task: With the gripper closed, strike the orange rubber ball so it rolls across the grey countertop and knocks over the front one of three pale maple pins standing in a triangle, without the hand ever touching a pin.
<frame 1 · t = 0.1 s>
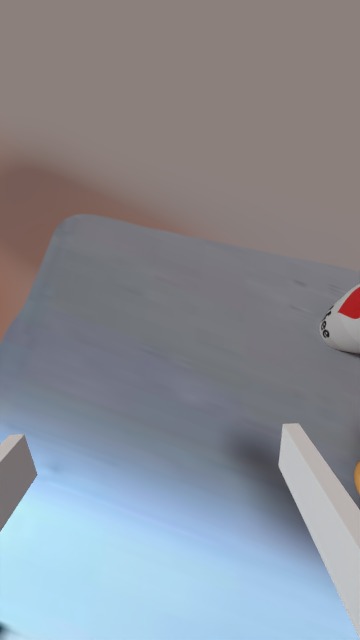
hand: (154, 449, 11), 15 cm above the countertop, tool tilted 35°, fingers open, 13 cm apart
cup: (338, 332, 28), on the countertop
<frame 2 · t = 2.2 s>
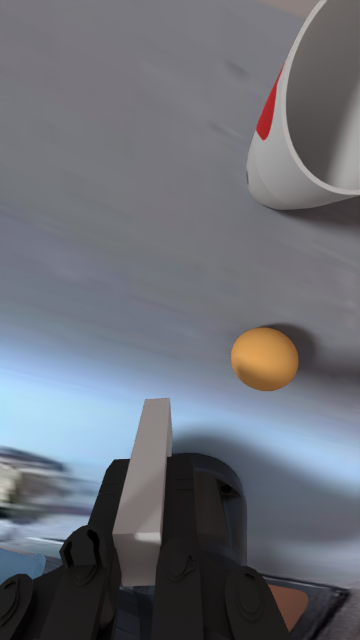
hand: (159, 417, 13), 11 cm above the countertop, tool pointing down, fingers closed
cup: (274, 176, 19), on the countertop
ball: (262, 358, 21), on the countertop
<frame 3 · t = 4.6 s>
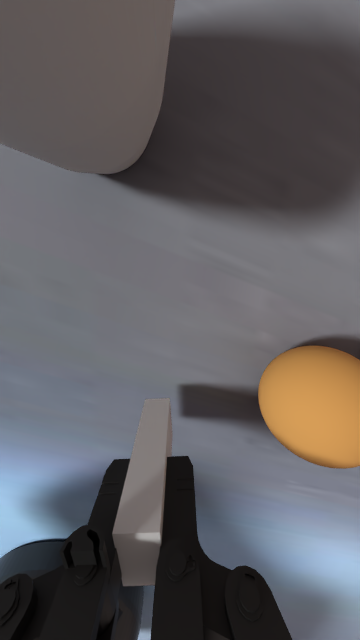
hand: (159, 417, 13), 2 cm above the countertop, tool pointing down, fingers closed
cup: (103, 118, 11), on the countertop
ball: (317, 401, 12), on the countertop
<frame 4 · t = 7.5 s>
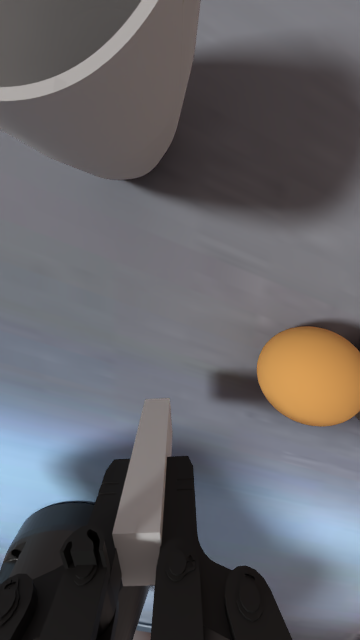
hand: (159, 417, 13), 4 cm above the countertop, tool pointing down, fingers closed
cup: (126, 131, 13), on the countertop
ball: (307, 373, 13), on the countertop
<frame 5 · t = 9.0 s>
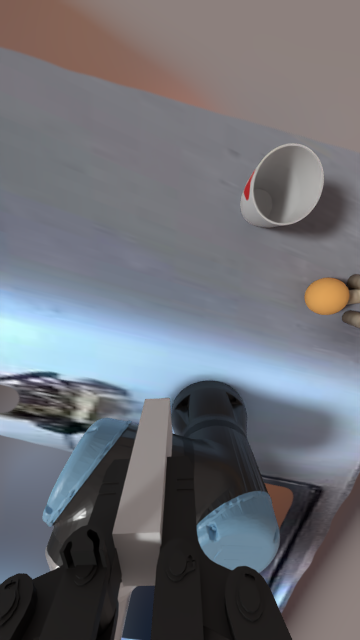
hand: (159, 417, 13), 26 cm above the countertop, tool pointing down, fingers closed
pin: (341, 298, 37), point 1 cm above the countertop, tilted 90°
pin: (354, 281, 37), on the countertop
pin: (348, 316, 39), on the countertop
cup: (256, 206, 34), on the countertop
ball: (325, 296, 35), on the countertop
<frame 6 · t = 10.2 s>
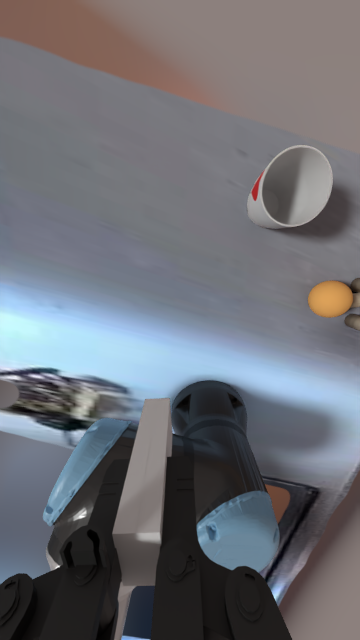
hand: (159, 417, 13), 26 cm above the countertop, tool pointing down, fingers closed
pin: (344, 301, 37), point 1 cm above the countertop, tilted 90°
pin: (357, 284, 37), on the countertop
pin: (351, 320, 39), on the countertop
cup: (262, 207, 34), on the countertop
ball: (329, 299, 35), on the countertop
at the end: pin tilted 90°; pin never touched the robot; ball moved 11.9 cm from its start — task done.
